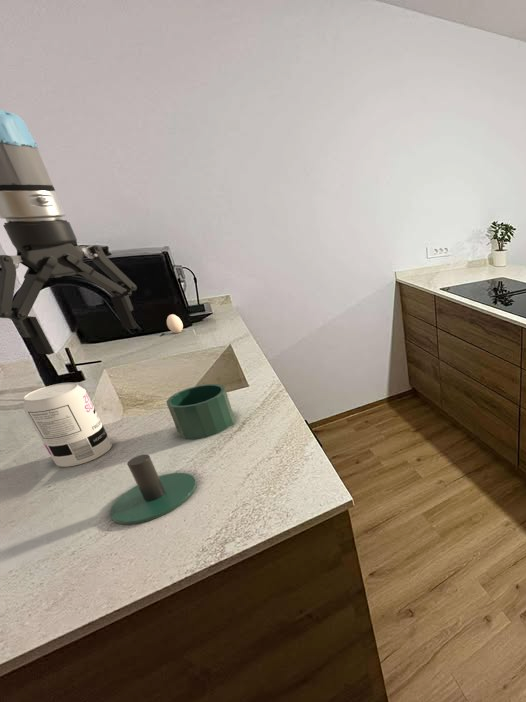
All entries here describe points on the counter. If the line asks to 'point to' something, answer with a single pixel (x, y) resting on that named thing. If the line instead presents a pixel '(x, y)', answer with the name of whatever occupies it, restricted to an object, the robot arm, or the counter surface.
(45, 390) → the supplement can
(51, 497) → the counter surface
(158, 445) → the counter surface
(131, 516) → the lid
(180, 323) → the egg
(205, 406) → the pot
